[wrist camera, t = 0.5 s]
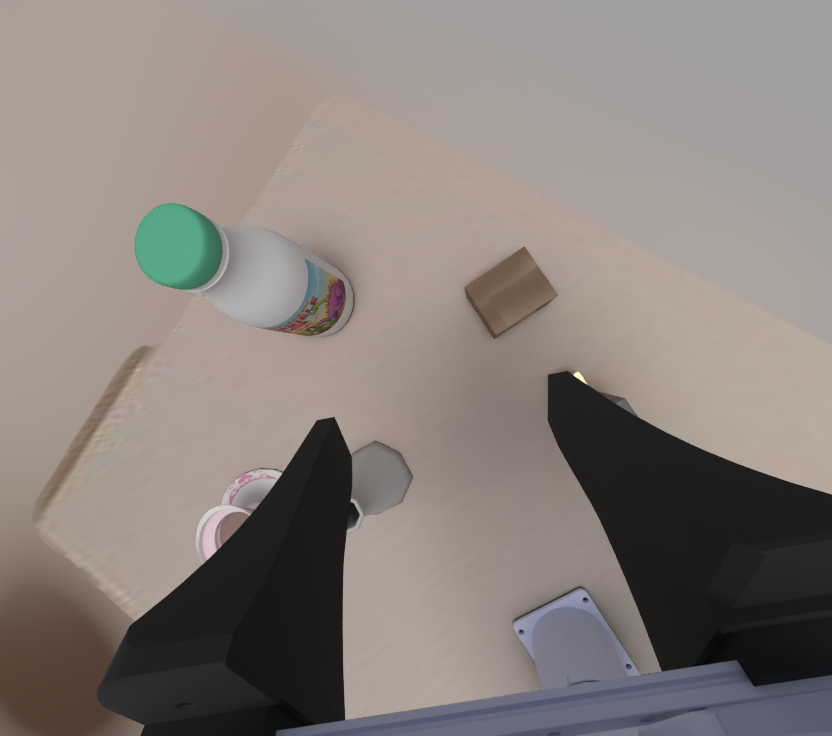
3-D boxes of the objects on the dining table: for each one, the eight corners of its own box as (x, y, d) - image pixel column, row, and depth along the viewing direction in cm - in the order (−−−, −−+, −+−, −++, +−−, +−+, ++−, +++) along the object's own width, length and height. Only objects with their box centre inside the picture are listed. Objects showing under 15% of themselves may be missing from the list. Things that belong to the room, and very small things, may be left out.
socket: (547, 304, 36) (558, 294, 31) (494, 338, 37) (496, 335, 32) (518, 262, 36) (524, 246, 31) (466, 297, 37) (464, 287, 32)
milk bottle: (275, 298, 41) (83, 239, 21) (325, 250, 40) (172, 141, 20) (317, 352, 40) (159, 342, 20) (370, 304, 39) (256, 245, 19)
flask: (375, 428, 39) (340, 450, 29) (425, 476, 38) (406, 516, 28) (331, 476, 40) (283, 513, 30) (379, 524, 39) (346, 579, 29)
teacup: (205, 492, 43) (160, 514, 37) (291, 450, 41) (258, 465, 35) (248, 589, 42) (209, 627, 36) (337, 550, 40) (312, 584, 34)
